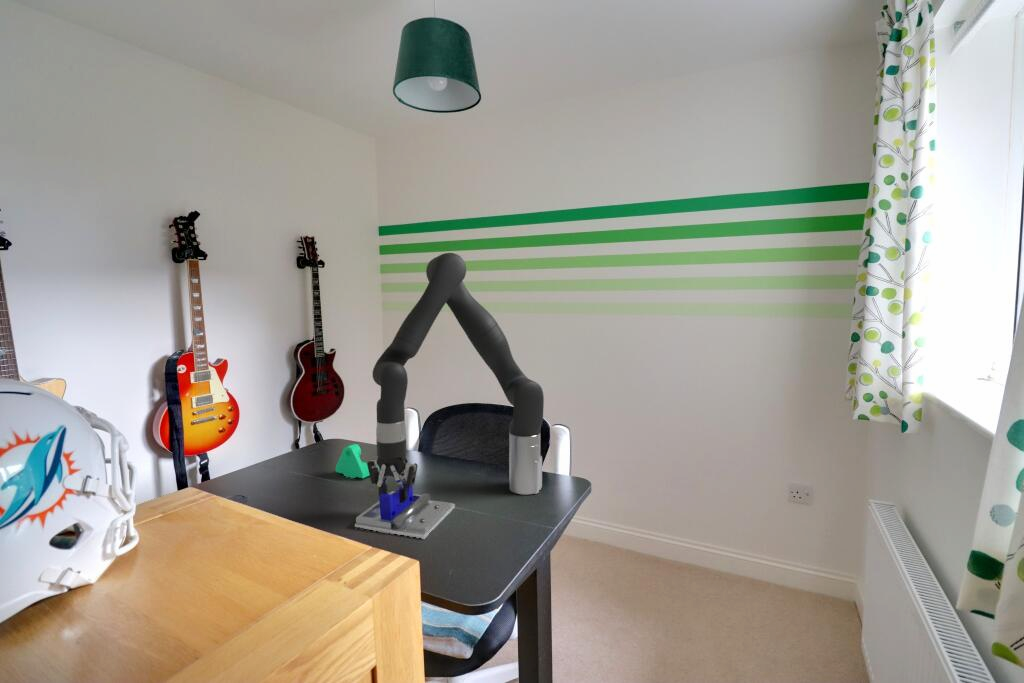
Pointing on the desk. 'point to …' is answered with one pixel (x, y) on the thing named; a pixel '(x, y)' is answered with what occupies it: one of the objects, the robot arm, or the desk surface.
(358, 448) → the camera mount
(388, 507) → the blue stepped long block
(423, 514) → the hinge plate
